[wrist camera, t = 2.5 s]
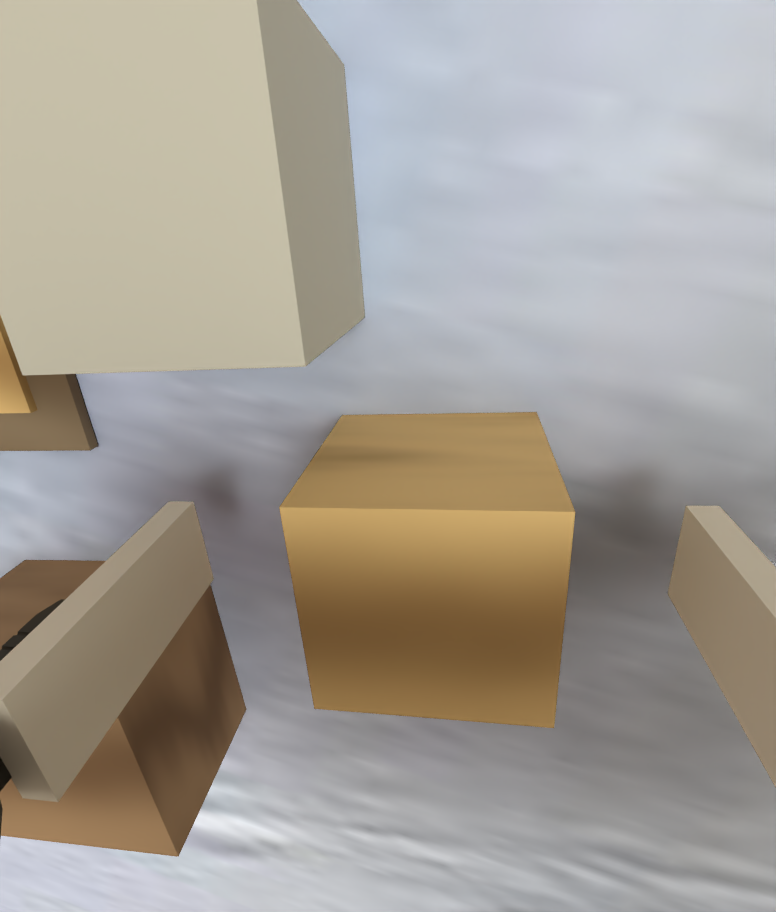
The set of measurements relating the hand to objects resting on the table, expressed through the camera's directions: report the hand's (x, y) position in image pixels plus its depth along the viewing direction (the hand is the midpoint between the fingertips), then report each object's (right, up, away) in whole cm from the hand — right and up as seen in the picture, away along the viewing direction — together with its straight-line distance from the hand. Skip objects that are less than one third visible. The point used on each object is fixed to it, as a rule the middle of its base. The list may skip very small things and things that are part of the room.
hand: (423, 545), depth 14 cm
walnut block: (-12, -5, +8) cm, 15 cm away
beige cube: (-5, +9, 0) cm, 10 cm away
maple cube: (+1, +1, +3) cm, 3 cm away
